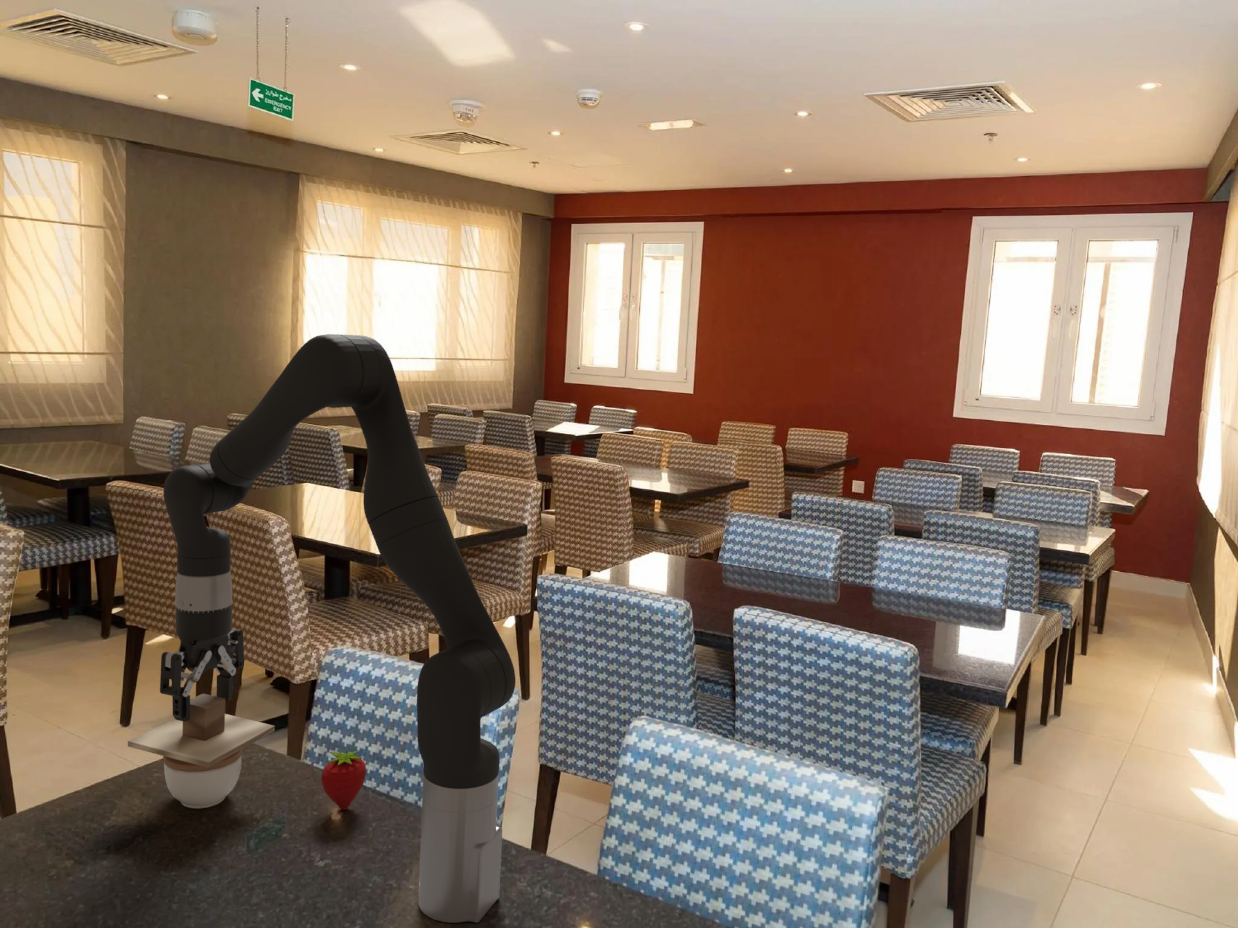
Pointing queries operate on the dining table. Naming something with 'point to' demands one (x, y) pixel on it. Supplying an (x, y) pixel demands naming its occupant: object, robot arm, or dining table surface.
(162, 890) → the dining table surface
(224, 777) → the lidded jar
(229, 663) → the robot arm
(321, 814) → the dining table surface
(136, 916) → the dining table surface
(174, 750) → the lid
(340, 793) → the strawberry
